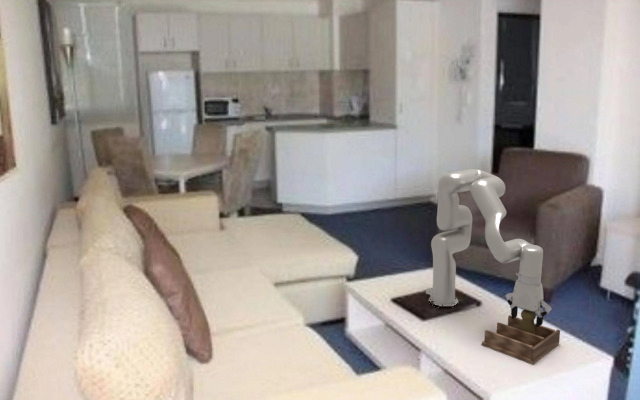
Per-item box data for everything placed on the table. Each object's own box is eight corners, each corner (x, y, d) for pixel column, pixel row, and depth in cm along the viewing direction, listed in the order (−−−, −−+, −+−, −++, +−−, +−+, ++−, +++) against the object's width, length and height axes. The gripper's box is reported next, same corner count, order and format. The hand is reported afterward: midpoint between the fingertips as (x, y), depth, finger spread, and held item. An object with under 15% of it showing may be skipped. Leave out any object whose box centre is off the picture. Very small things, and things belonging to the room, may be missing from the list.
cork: (536, 342, 209) (538, 314, 207) (519, 341, 210) (521, 313, 208) (533, 334, 215) (535, 307, 213) (517, 333, 216) (518, 306, 214)
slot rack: (481, 345, 211) (482, 331, 210) (508, 327, 224) (509, 313, 223) (533, 364, 197) (534, 349, 195) (559, 344, 210) (560, 330, 209)
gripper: (502, 275, 211) (499, 317, 215) (548, 288, 199) (544, 332, 203) (512, 269, 216) (509, 311, 220) (557, 282, 204) (553, 325, 208)
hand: (526, 321), depth 212 cm, fingers open, 9 cm apart
